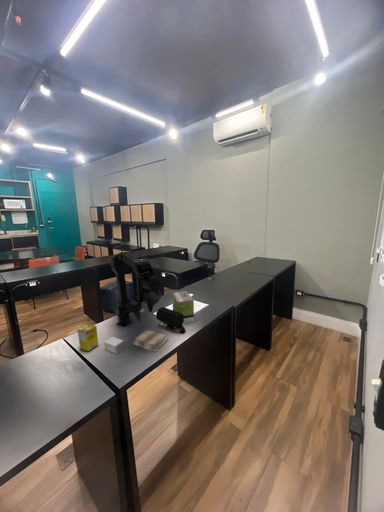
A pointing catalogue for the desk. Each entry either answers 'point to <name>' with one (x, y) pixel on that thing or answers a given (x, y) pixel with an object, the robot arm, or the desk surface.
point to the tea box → (184, 305)
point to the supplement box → (88, 337)
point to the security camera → (171, 318)
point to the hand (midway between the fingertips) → (144, 316)
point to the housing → (114, 345)
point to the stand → (150, 340)
